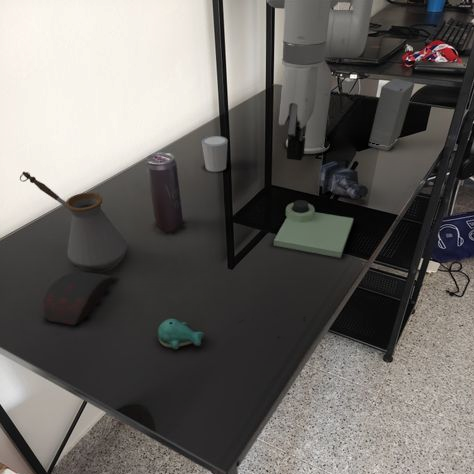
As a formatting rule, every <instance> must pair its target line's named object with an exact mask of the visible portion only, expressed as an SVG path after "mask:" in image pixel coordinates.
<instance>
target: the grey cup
mask: <svg viewBox="0 0 474 474" xmlns="http://www.w3.org/2000/svg"><path fill="white" fill-rule="evenodd" d="M228 142H229V141H228V139H227V138H226V137H224V136H220V135H211V136H206V137H204V138H202V139H201V146H202V152H203V153H202V154H203V159H204V166H205V169H206V170H207V171H208V172H213V173H218V172H222V171H224V170H226V169H227V163H228V162H227V158H228Z"/></svg>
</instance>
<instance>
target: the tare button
mask: <svg viewBox="0 0 474 474" xmlns="http://www.w3.org/2000/svg"><path fill="white" fill-rule="evenodd" d="M292 203H293V211H294V212H297V213H305V212H307V211H308V204H309V202H308V201H307V200H304V199H297V200H295V201H294V202H292Z"/></svg>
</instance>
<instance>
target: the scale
mask: <svg viewBox="0 0 474 474" xmlns="http://www.w3.org/2000/svg"><path fill="white" fill-rule="evenodd" d="M293 203H294V202H291V203H289V204H287V206H286V207H285V216H286V218H285V220H284V222H283V223H282V225H281V227H280V228H279V231H278V232H277V234H276V235H275V237H274V239H273V246H274V247H280V248H285V249H290V250H297V251H301V252H307V253H313V254H317V255H318V254H319V255H324V256H329V257H333V258H340V259H341V258H342V255H343V253H344V250H345V247H346V244H347V241H348V238H349V235H350V232H351V230H352V227H353V224H354V217H348V216H342V215H341V216H340V215H335V214H328V213H322V212H316V210H315V209H316V208H315V207H314V205H313V204H310V203H308V211H307V212H305V213H297V212H294V211H293Z"/></svg>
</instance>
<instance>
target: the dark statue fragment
mask: <svg viewBox="0 0 474 474" xmlns="http://www.w3.org/2000/svg"><path fill="white" fill-rule="evenodd" d="M346 164H347V161H345V160H344V161H341V162H338V163H337V161H330V162H328V163H325V164H322V165H320V166H319V175H318V183H317V184H318V187H322V191H321V192H322V194H325V193H328V192H331V193H332V194H334V195H338V196H342V197H346V198H347V197H351V198H352V199H353V200H357V201H362V200H365V199H366V198H367V197H368V195H369V189H368V187H367V186H366V185H362V184H360V182H359V174H358V170H354V169H350V168H347V167H346Z"/></svg>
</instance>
